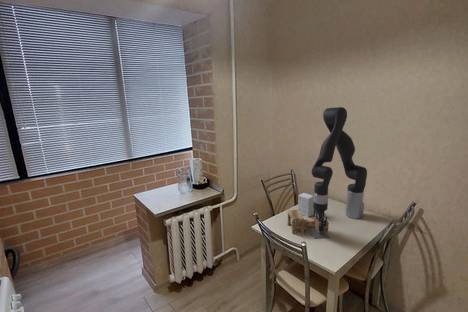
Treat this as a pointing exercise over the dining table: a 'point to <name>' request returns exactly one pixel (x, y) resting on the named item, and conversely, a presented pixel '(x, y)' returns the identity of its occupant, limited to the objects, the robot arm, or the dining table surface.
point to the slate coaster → (319, 234)
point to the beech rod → (305, 224)
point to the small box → (305, 204)
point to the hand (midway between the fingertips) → (319, 228)
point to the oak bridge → (295, 219)
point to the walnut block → (318, 225)
